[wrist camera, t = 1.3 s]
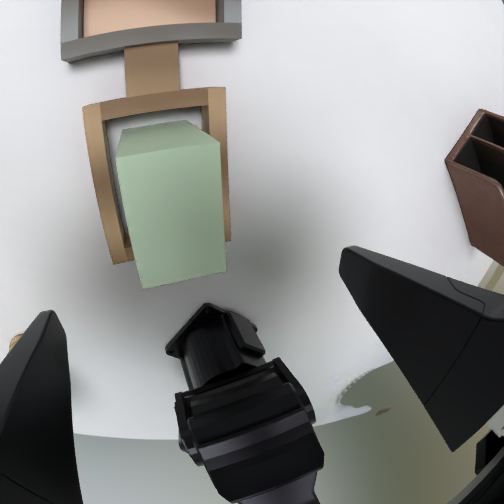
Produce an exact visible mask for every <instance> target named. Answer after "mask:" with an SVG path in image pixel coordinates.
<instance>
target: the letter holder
mask: <svg viewBox="0 0 504 504" xmlns="http://www.w3.org/2000/svg"><path fill="white" fill-rule="evenodd" d="M445 162H446V165H447V167H448V170H449V172H450V176H451V178H452V181H453V184H454V187H455V190H456V193H457V196H458V199H459V203H460V206H461V209H462V213H463V216H464V219H465V223H466V227H467V230H468V234H469V238H470V242H471V245H472V246H474V247H475V248H477V249H478V250H480V251H481V252H483V253H484V254H486V255H487V256H489V257H490V258H492V259H493V260H495V261H496V262H498V263H499V264H501V265H502V266H504V117H503V116H500V115H497V114H494V113H492V112H489V111H486V110H483V109H479V110H478V111H477V113H476V114H475V116H474V117H473V119H472V120H471V122H470V124H469V125H468V127H467V128H466V130H465V131H464V133H463V134H462V136H461V137H460V139H459V140H458V142H457V143H456V144H455V146H454V147H453V149H452V150H451V152H450V153H449V154H448V156H447V157H446V159H445Z"/></svg>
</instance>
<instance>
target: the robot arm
mask: <svg viewBox="0 0 504 504" xmlns="http://www.w3.org/2000/svg"><path fill="white" fill-rule="evenodd" d="M339 274H340V276H341V278H342V280H343V281H344V283H345V285H346V287H347V288H348V290H349V292H350V294H351V295H352V297H353V299H354V301H355V303H356V304H357V306H358V308H359V309H360V311H361V312H362V314H363V315H364V317H365V318H366V320H367V321H368V323H369V324H370V326H371V327H372V328H373V330H374V331H375V333H376V334H377V336H378V337H379V339H380V340H381V341H382V343H383V344H384V346H385V347H386V349H387V350H388V352H389V353H390V355H391V356H392V358H393V359H394V361H395V362H396V364H397V365H398V367H399V368H400V370H401V371H402V373H403V374H404V376H405V377H406V379H407V380H408V382H409V383H410V385H411V387H412V388H413V390H414V391H415V393H416V395H417V396H418V398H419V399H420V401H421V402H422V404H423V405H424V407H425V409H426V410H427V412H428V414H429V416H430V417H431V419H432V420H433V422H434V424H435V425H436V427H437V428H438V430H439V432H440V434H441V435H442V437H443V439H444V440H445V442H446V444H447V445H448V447H449V449H450V450H451V451H452V452H454V451H455V450H456V449H458V448H459V447H460V446H461V445H462V444H464V443H465V442H466V441H467V440H468V439H469V438H470V437H472V436H473V435H474V434H475V433H476V432H477V431H478V430H479V429H480V428H481V427H482V426H483V425H484V424H485V423H487V424H488V425H489V427H490V428H491V429H490V430H489V432H488V433H486V435H485V436H484V437H483V438H482V439H481V440H480V441H479V442H478V443H477V446H476V464H475V473H476V475H477V476H476V477H475V478H474V479H473V480H472V481H471V482H470V483H469V484H468V485H467V486H466V487H465V488H464V489H463V490H462V491H461V492H460V493H459V494H458V495H457V496H455V497H454V498H453V499H452V500H451V501H450V502H449V503H448V504H504V295H502V294H499V293H496V292H492V291H489V290H486V289H483V288H479V287H476V286H473V285H470V284H467V283H464V282H461V281H458V280H455V279H453V278H450V277H446V276H444V275H441V274H438V273H435V272H433V271H430V270H427V269H424V268H421V267H418V266H415V265H412V264H409V263H406V262H403V261H400V260H397V259H394V258H391V257H388V256H385V255H382V254H379V253H376V252H373V251H370V250H367V249H364V248H361V247H358V246H349V247H345V248H344V249H343V250H342V254H341V259H340V265H339ZM206 309H209V310H206ZM256 332H257V327H256V326H255V325H254V324H252V323H250V321H249V320H247V319H245V318H243V317H241V316H239V315H237V314H235V313H233V312H230V311H227V312H226V311H224V310H222V309H220V308H218V307H216V306H214V305H212V304H209V303H206V304H204V305H203V306H202V307H201V308H200V309H199V310H198V311H197V312H196V314H195V315H194V316H193V317H192V318H191V319H190V320H189V321H188V323H187V324H186V325H185V326H184V327H183V328H182V329H181V331H180V332H179V333H178V334H177V335H176V336H175V337H174V338H173V340H172V341H171V342H170V343H169V344H168V345H167V346H166V348H165V351H166V354H167V355H170V356H173V357H175V358H178V359H180V360H181V364H182V367H183V371H184V374H185V378H186V381H187V384H188V388H189V391H186V392H179V393H175V399H176V402H175V407H174V408H175V412H176V415H177V421H178V427H179V446H180V449H181V450H182V451H184V452H186V453H188V454H189V455H190V457H191V458H192V459H193V461H194V462H195V464H196V465H197V466H203V465H204V466H205V468H206V470H207V472H208V474H209V476H210V478H211V480H212V482H213V484H214V486H215V488H216V489H217V491H218V493H219V494H220V495H221V496H222V497H224V498H225V499H226V500H228V501H229V502H230V503H232V504H233V503H236V502H237V503H239V504H320V502H319V500H318V498H317V496H316V494H315V492H314V485H315V481H316V476H317V471H318V470H320V469H322V468H323V465H324V452H323V450H322V448H321V446H320V443H319V441H318V439H317V436H316V434H315V432H314V430H313V427H312V424H314V423H315V422H316V418H315V413H314V410H313V407H312V404H311V402H310V400H309V398H308V396H307V394H306V392H305V390H304V389H303V387H302V386H301V384H300V383H299V382H298V381H297V379H296V378H295V377H294V376H293V374H292V373H291V372H290V371H289V369H288V368H287V367H286V366H285V364H284V363H283V362H282V360H281V359H280V358H279V357H277V358H275V359H273V360H272V361H270V362H268V363H266V361H265V360H264V358H263V355H264V354H265V349H264V347H263V345H262V343H261V342H260V340H259V338H258V336H257V334H256ZM0 504H83V500H82V495H81V490H80V484H79V478H78V471H77V464H76V456H75V447H74V437H73V424H72V407H71V383H70V373H69V363H68V352H67V339H66V334H65V331H64V329H63V327H62V325H61V323H60V321H59V319H58V317H57V315H56V313H55V312H54V311H53V310H48V311H43V312H41V313H40V314H39V315H38V316H37V317H36V318H35V320H34V321H33V322H32V323H31V325H30V326H29V327H28V328H27V330H26V331H25V332H24V333H23V335H22V336H21V337H20V338H19V340H18V341H17V342H16V344H15V345H14V346H13V348H12V349H11V350H10V352H9V353H8V354H7V356H6V357H5V358H4V360H3V361H2V363H1V364H0Z"/></svg>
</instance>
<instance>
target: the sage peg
mask: <svg viewBox="0 0 504 504" xmlns="http://www.w3.org/2000/svg"><path fill="white" fill-rule="evenodd" d="M115 160H116V166H117V173H118V179H119V185H120V191H121V196H122V201H123V207H124V212H125V217H126V222H127V226H128V231H129V236H130V240H131V245H132V249H133V253H134V257H135V262H136V266H137V270H138V273H139V277H140V281H141V285H142V289H147V288H151V287H156V286H161V285H165V284H170V283H175V282H179V281H184V280H189V279H193V278H198V277H202V276H207V275H211V274H216V273H221V272H225V271H227V268H226V252H225V236H224V218H223V200H222V179H221V157H220V142H219V141H217V140H216V139H214V138H213V137H211V136H210V135H208V134H207V133H205V132H204V131H202V130H201V129H199V128H198V127H196V126H195V125H193V124H192V123H190V122H188V121H187V120H182V121H174V122H166V123H159V124H153V125H147V126H140V127H135V128H129V129H124V130H122V133H121V137H120V141H119V145H118V149H117V153H116V158H115Z"/></svg>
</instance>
